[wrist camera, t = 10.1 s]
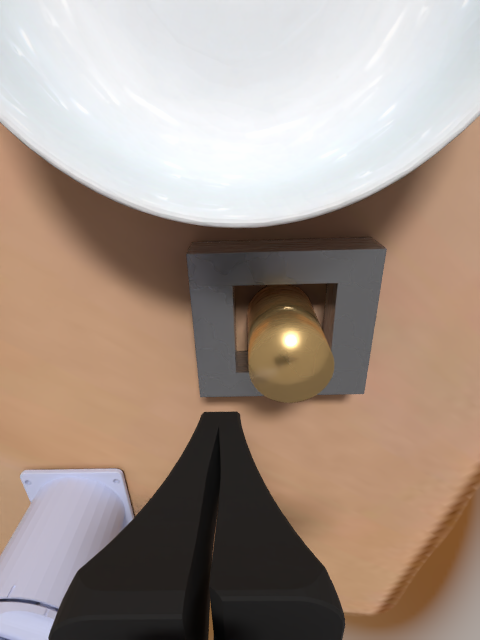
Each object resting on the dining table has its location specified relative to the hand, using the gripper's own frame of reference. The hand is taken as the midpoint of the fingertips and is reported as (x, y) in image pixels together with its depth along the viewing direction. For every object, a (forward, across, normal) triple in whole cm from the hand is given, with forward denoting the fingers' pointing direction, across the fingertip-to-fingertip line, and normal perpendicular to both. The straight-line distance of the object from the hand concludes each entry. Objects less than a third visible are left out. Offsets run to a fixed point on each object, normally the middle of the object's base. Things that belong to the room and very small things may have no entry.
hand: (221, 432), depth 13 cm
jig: (+10, -3, 0) cm, 10 cm away
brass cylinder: (+10, -3, 0) cm, 10 cm away
